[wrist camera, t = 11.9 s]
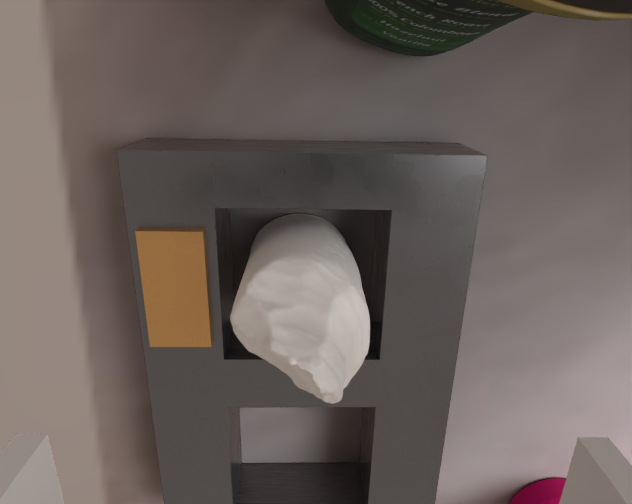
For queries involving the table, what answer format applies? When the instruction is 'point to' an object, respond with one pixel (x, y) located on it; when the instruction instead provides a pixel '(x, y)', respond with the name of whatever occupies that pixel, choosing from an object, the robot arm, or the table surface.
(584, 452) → the robot arm
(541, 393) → the table surface
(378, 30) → the coffee jar
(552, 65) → the table surface
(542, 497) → the pepper mill
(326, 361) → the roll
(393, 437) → the hole plate
